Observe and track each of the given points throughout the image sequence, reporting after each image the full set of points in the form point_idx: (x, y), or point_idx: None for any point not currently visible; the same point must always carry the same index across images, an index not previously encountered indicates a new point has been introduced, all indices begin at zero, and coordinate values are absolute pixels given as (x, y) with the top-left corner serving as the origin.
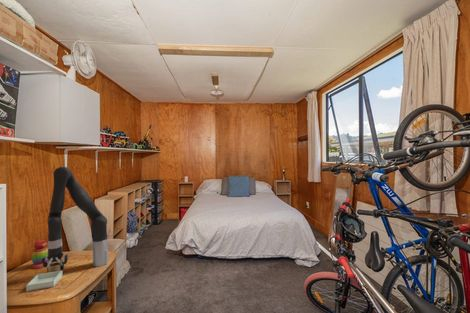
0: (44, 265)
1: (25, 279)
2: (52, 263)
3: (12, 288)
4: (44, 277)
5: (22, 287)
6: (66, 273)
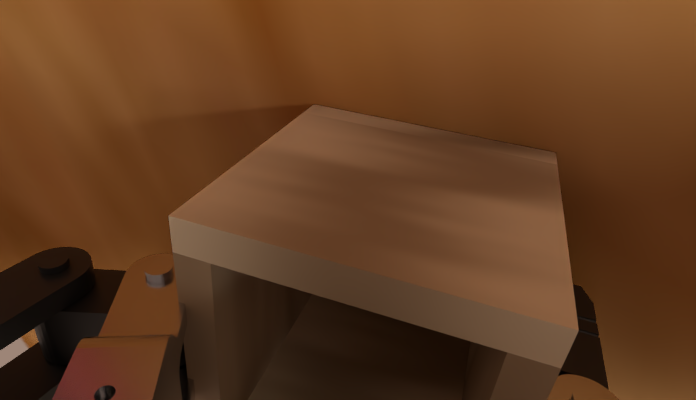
0: (59, 379)
1: (5, 173)
2: (207, 280)
3: (26, 338)
4: None
5: None
6: (634, 380)
